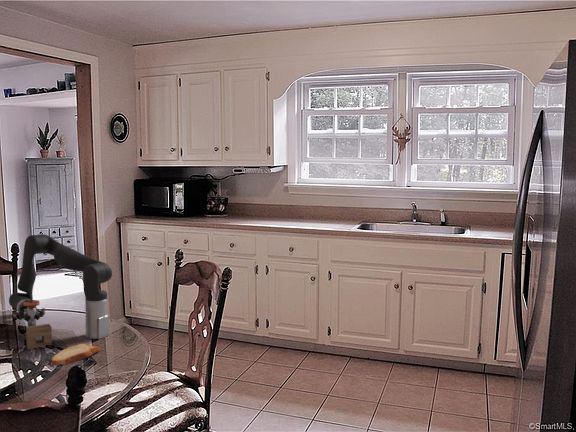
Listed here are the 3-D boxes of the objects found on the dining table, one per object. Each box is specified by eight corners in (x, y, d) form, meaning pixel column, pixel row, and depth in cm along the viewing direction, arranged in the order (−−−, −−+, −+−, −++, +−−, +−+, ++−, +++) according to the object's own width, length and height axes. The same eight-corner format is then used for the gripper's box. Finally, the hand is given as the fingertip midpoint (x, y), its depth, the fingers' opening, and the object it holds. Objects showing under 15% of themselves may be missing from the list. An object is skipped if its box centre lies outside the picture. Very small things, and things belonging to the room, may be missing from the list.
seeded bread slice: (49, 368, 199) (48, 359, 198) (54, 351, 216) (54, 342, 215) (98, 364, 204) (98, 355, 204) (100, 348, 221) (100, 339, 221)
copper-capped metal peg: (23, 332, 234) (22, 301, 233) (38, 329, 238) (38, 299, 236) (28, 341, 223) (27, 309, 222) (44, 339, 227) (43, 307, 225)
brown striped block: (26, 345, 219) (26, 327, 218) (49, 342, 224) (49, 323, 224) (28, 349, 215) (27, 330, 214) (51, 345, 220) (51, 327, 219)
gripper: (9, 302, 240) (15, 312, 226) (42, 298, 248) (50, 308, 234) (9, 318, 241) (15, 329, 227) (42, 314, 249) (50, 324, 235)
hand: (32, 318), depth 231 cm, fingers closed on copper-capped metal peg, 3 cm apart
